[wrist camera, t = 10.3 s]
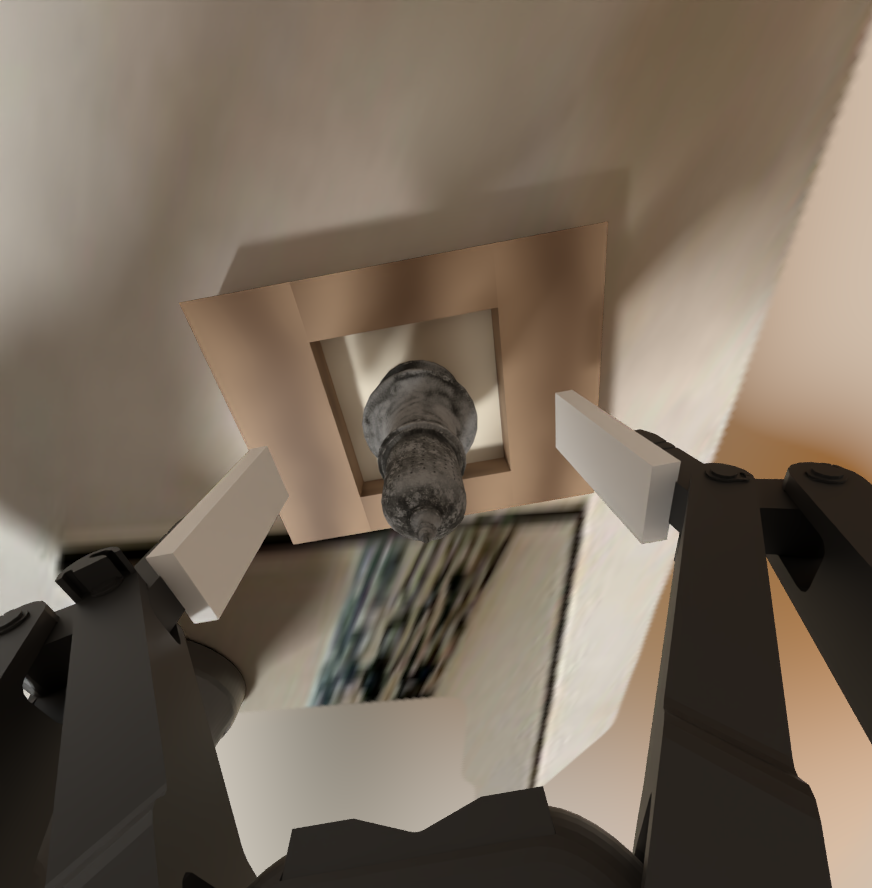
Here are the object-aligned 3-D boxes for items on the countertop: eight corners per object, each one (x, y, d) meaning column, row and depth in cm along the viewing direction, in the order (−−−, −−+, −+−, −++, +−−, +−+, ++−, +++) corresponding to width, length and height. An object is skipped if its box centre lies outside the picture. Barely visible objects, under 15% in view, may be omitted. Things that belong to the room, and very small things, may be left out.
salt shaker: (403, 333, 18) (390, 404, 8) (487, 390, 20) (572, 514, 9) (352, 417, 20) (283, 569, 10) (432, 462, 22) (450, 635, 11)
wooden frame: (307, 514, 25) (293, 544, 22) (215, 299, 18) (178, 302, 15) (572, 468, 25) (593, 492, 22) (576, 230, 18) (607, 221, 15)
